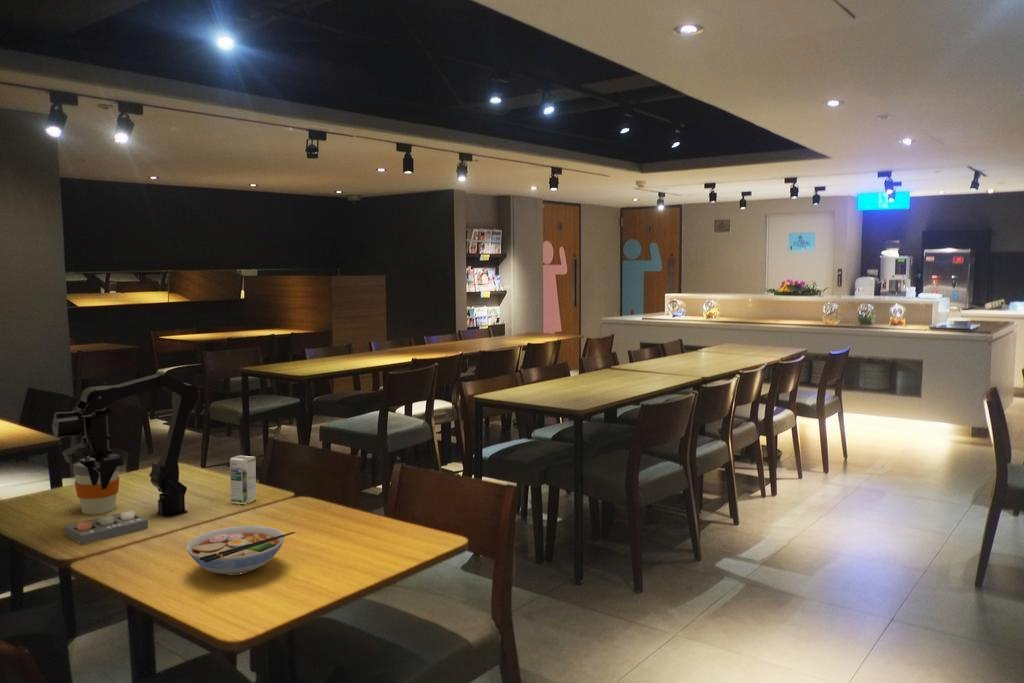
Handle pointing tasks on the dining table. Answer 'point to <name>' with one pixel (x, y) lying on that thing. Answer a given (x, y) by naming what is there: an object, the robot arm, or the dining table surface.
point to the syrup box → (243, 478)
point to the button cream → (127, 515)
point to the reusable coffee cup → (95, 491)
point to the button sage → (106, 520)
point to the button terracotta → (84, 526)
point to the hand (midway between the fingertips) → (99, 487)
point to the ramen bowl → (235, 548)
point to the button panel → (106, 529)
